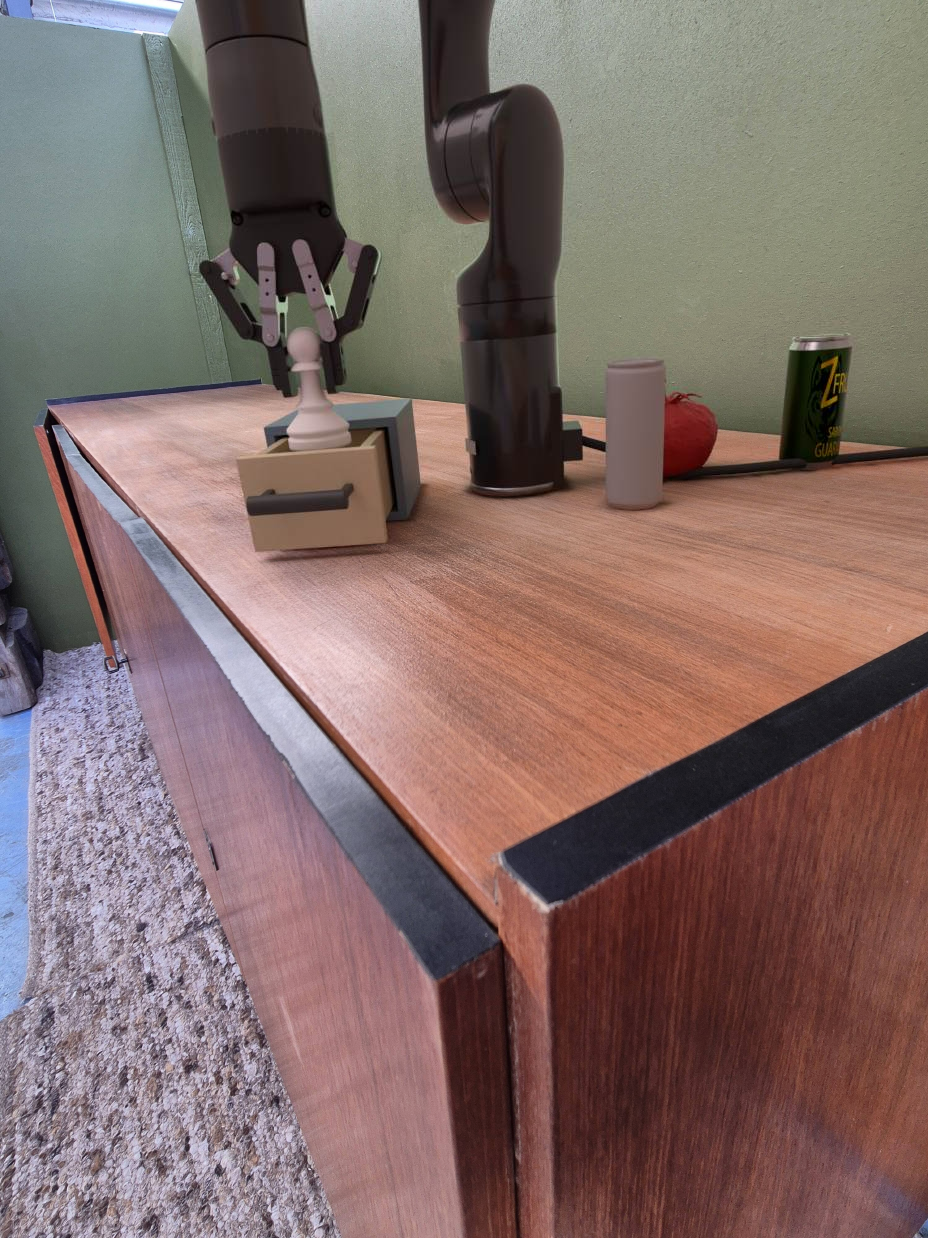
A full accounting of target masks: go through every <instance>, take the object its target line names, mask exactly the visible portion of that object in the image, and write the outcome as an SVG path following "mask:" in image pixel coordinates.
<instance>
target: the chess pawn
mask: <svg viewBox="0 0 928 1238" xmlns="http://www.w3.org/2000/svg"><path fill="white" fill-rule="evenodd" d="M322 343H323V338H322V337H321V334H320V332H318V330H316V329H314V328H312V327H311V326H310V327H309V326H299V327H295V328H294V329H292V330H291V331H290V332H289V334H288V335H287V339H286V347H287V351H288V353H289V355H290V357H291V358H292V359H293V362H294V364H293V365H292V367H291V369H290V371H292V372H295V373H296V372H299V381H300V382H299V383H300V399H299V402H298V403H297V404H295V410H298V415H297V416H296V417H295V419H294V420H293V421H292V423H291V424H290V426H289V427H288V428H287V434H288V435H289V436H290V438H289V439H288V442H289V448H290V449H291V450H293V451H297V452H299V451H312V450H324V449H336V448H340V447H344V446H346V445H349V444H350V443H351V434H350V432H348V429H349V423H348V422H347V421H346V420H344V419H343V418H342V417H341V416H339V415H338V414H337V413H336V412H334V411H333V410H332V406H333V405H334V402H333V401H332V400H330V399H329V398H328V397H327V396H326V393H325V390H324V387H323V383H322V380H321V379H322V378H321V374H320V370H324V368H323V362H322V360H320V359H322V355H321V348H320V344H322Z"/></svg>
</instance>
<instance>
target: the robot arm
mask: <svg viewBox="0 0 928 1238" xmlns="http://www.w3.org/2000/svg"><path fill="white" fill-rule="evenodd" d="M416 1H417V10H418V20H419V34H420V35H419V37H420V55H421V80H422V111H423V112H422V113H423V134H424V135H423V137H424V148H425V149H424V150H425V159H426V167H427V173H428V178H429V182H430V185H431V189H432V192H433V194H434V197H435V199H436V201H437V204H438V205H439V207H440V208H441V210H442V211H443V213H444V214H445V215H446V216H447V218H449V219H450V220H451V221H452V222H454V223H456V224H458V225H462V226H475V225H481V224H487V223H488V232H487V238H486V240H485V243H484V245H483V247H482V249H481V250H480V252H479V253H478V255H477V256H475V258H474V259H473V260H472V261H471V262H470V263H469V264H468V265H466V266H465V267H464V268H462V269H461V270H460V271H459V273H458V274H457V276H456V280H455V292H456V293H455V294H456V304H457V317H458V318H457V319H458V331H459V341H460V356H461V368H462V381H463V394H464V395H463V396H464V408H465V420H466V433H467V437H465V438H464V440H465V441H464V442H465V451H466V452H467V453H468V458H469V474H470V481H469V483H470V489H471V491H473V492H474V493H477V494H480V495H485V496H494V497H514V496H515V497H516V496H525V495H526V496H527V495H533V494H540V493H545V492H549V491H551V490H560V489H565V487H566V486H565V462H580V461H583V460H584V447H585V448H588V449H592V450H596V451H600V452H602V453H605V454H606V441H603V440H600V439H596V438H592V437H589V436H586V435H583V427H582V425H581V424H580V421H579V420H566V421H565V420H564V415H563V389H562V386H561V385H560V364H559V363H560V362H559V359H560V358H559V333H558V332H559V327H558V326H559V325H558V324H559V323H558V298H557V296H558V285H557V284H558V278H559V274H560V270H561V265H562V261H563V255H564V222H565V221H564V219H565V218H564V217H565V185H566V184H565V183H566V182H565V181H566V180H565V179H566V178H565V177H566V175H565V173H566V171H565V170H566V169H565V168H566V166H565V165H566V163H565V161H566V159H565V147H564V146H565V145H564V139H563V131H562V127H561V124H560V120H559V117H558V114H557V111H556V109H555V107H554V105H553V103H552V101H551V99H550V98H549V96H548V95H547V94H546V93H545V92H544V90H542V89H540V88H539V87H537V86H535V85H533V84H529V83H517V84H513V85H509V86H506V87H503V88H500V89H497V90H494V91H492V90H491V77H490V40H491V39H490V37H491V27H492V19H493V13H494V9H495V4H496V0H416ZM194 4H195V9H196V13H197V20H198V25H199V31H200V37H201V42H202V47H203V54H204V60H205V66H206V79H207V94H208V103H209V107H210V108H209V109H210V113H211V117H210V121H211V128H212V132H213V136H214V137H215V140H216V147H217V152H218V157H219V162H220V168H221V173H222V180H223V184H224V190H225V195H226V200H227V206H228V211H229V216H230V220H231V233H230V236H229V239H228V248H227V249H226V250H225V251H223V252H221V253H220V254H219V255H217V256H216V257H214V258H213V259H211V260H210V259H204V260H202V261H201V262H200V263H199V266H198V270H199V273H200V275H201V276H202V278H203V280H204V281H205V283H206V284H207V286H208V288H209V290H210V291H211V293H212V294H213V296H214V297H215V300H216V301H217V302H218V304H219V305H220V307H221V309H222V310H223V312H224V314H225V315H226V317H227V318H228V321H230V323H231V324H232V326H233V328H234V329H235V331H236V332H237V334H238V336H239V337H240V338H241V339H242V340H244V341H248V340H249V341H253V342H256V343H259V344H262V345H263V346H264V347H265V349H266V351H267V357H268V362H269V367H270V373H271V379H272V384H273V386H274V388H275V390H276V391H281V393H282V397H283V398H284V399H289V398H290V399H291V398H295V397H297V396H298V395H299V387H298V381H297V376H296V372H292V371H290V369H291V367H292V365H293V364H295V361H294V360H293V359H292V358H291V357H290V355H289V353H288V351H287V347H286V341H287V337H288V335H287V334H288V333H287V331H288V330H287V326H288V325H287V315H288V311H289V297H293V296H295V295H297V294H302V295H306V296H307V300H308V303H309V307H310V309H311V310H312V312H313V315H314V318H315V321H316V325H317V327H318V331H319V334H320V336H321V338H322V340H323V343H322V344H320V348H321V355H322V356H321V361H322V362H323V368H324V369H323V374H324V381H325V388H326V391H327V392H326V393H327V395H337V394H340V393H341V392H342V386H343V385H346V384H347V380H348V372H347V365H346V357H345V350H344V340H345V338H346V337H347V336H348V335H350V334H352V333H353V332H356V331H357V330H360V329H362V328H363V326H364V324H365V320H366V317H367V314H368V311H369V306H370V303H371V298H372V295H373V292H374V288H375V285H376V281H377V278H378V274H379V270H380V266H381V263H382V260H383V254H382V252H381V250H380V248H379V247H378V248H377V247H376V246H374V245H372V244H363V243H360V242H358V241H356V240H353V239H351V238H348V234H347V231H345V228H344V227H343V225H342V224H341V222H340V220H339V217H338V211H337V204H336V196H335V189H334V181H333V173H332V165H331V159H330V151H329V143H328V136H327V127H326V121H325V111H324V105H323V99H322V93H321V87H320V84H319V80H318V79H319V78H318V76H317V75H318V74H317V72H316V67H315V63H314V56H313V50H312V42H311V35H310V27H309V21H308V13H307V6H306V0H194ZM491 91H492V92H491ZM344 254H346V256H347V260H348V261H347V267H348V270H349V271H350V272H351V273H352V274H354V275H353V279H352V283H351V287H350V290H349V294H348V297H347V301H346V306H345V309H344V313H343V315H342V316H340V317H339V315H338V312H337V308H336V301H335V297H334V294H333V290H332V287H331V280H332V278H333V276H334V274H335V272H336V270H337V268H338V266H339V264H340V261H342V258H343V256H344ZM239 265H240V266H241V267H242V269H243V270H244V271H245V272H246V273H247V274H248V276H249V277H250V278H251V279H252V280H253V281H254V283H256V285H257V287H258V299H259V310H260V314H261V323H260V321H259V320H258V318H257V317H256V314H255V313H254V312H253V310H252V308H251V307H250V305H249V304H248V302H247V299H245V297H244V295H243V294H242V292H241V290H240V289H239V287H238V285H239V283H240V279H241V278H240V274H239V271H238V266H239ZM921 457H922V458H923V457H928V445H925V446H914V447H913V446H912V447H902V448H894V449H882V450H873V451H872V450H871V451H862V452H849V453H839V455H837V456H836V458H835V460H834V461H833V462H832V465H834V466H836V465H847V464H858V463H866V462H867V463H869V462H877V461H879V462H880V461H888V460H899V459H910V458H911V459H912V458H921ZM806 466H807V463H806V462H805V461H804V460H802V459H799V458H796V459H786V460H779V459H778V460H777V459H776V460H769V461H759V462H748V463H736V464H724V465H723V464H720V465H719V464H718V465H708V466H703V467H699V468H696V469H693V470H691V471H689V472H687V473H684V474H680V475H677V476H673V477H667V478H663V481H680V480H681V481H683V480H691V479H697V478H704V477H715V476H716V477H717V476H733V475H744V474H754V473H763V472H764V473H765V472H773V471H784V470H796V469H795V468H805V467H806Z"/></svg>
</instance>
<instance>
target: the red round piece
mask: <svg viewBox="0 0 928 1238" xmlns="http://www.w3.org/2000/svg"><path fill="white" fill-rule="evenodd" d="M666 383H667V379H666V378H665V384H666ZM666 392H667V390H666V389H665V412H664V447H663V478H667V477H673V476H677V475H680V474H684V473H687V472H689V471H691V470H693V469H696V468H699V467H705V464H706V463H707V462H708V460H709V458H710V456H711V454H712V452H713V450H714V447H715V444H716V442H717V437H718V432H719V431H718V430H719V424H718V422H717V420H716V415H715V414H714V412H713V411H712V410H711V409H710V408H709V407H708V406H707V405H704V404H702V403H700V402H697V401H695V400H692V399H691V398H690V397H697V398H700V399H702V398H703V396H700V395H698V394H696V393H693V392H692V393H691V392H690V393H689V392H688V393H683V392H680V391H674V392H672V393H670V394H669V395H668V396H667V393H666ZM684 399H685V400H684Z"/></svg>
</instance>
